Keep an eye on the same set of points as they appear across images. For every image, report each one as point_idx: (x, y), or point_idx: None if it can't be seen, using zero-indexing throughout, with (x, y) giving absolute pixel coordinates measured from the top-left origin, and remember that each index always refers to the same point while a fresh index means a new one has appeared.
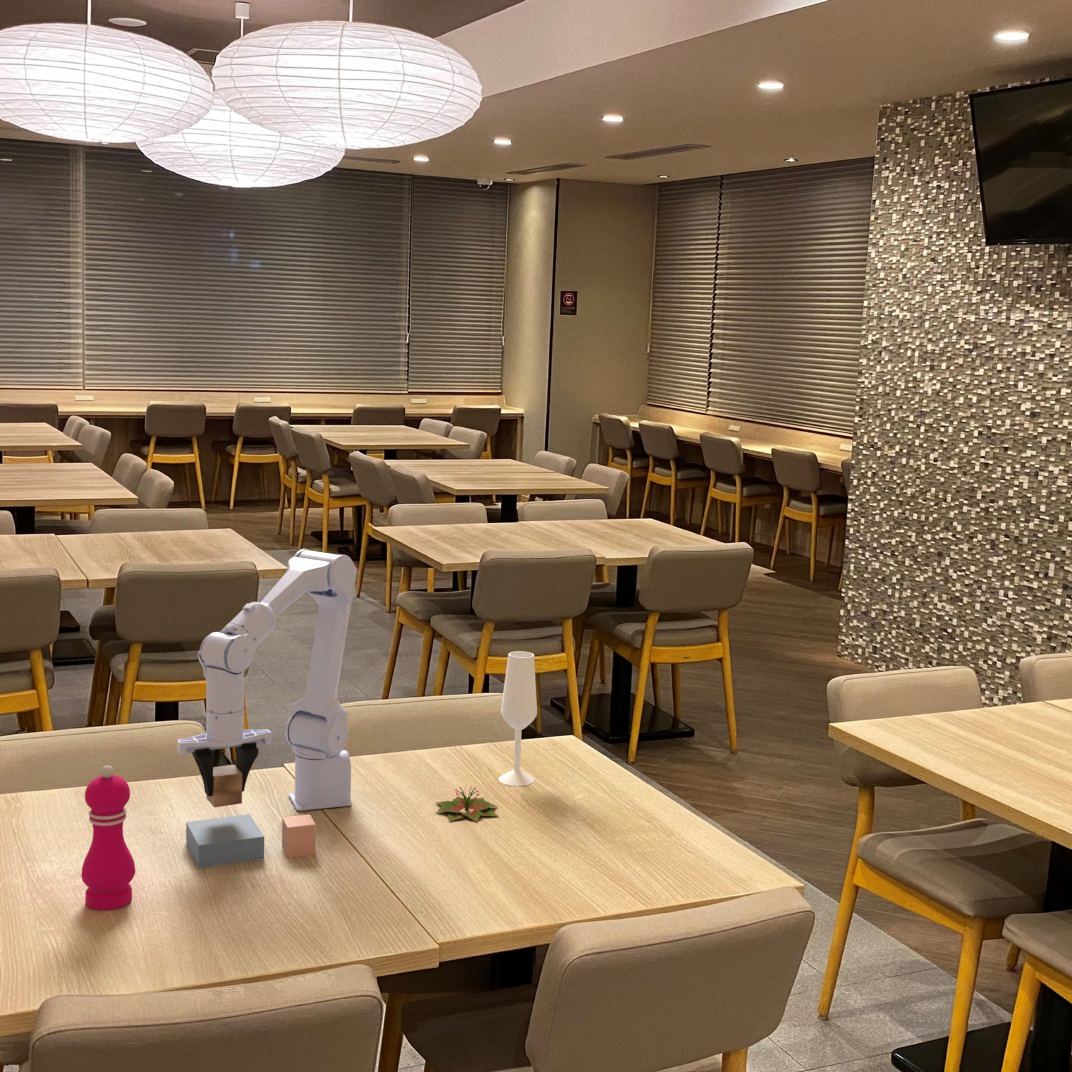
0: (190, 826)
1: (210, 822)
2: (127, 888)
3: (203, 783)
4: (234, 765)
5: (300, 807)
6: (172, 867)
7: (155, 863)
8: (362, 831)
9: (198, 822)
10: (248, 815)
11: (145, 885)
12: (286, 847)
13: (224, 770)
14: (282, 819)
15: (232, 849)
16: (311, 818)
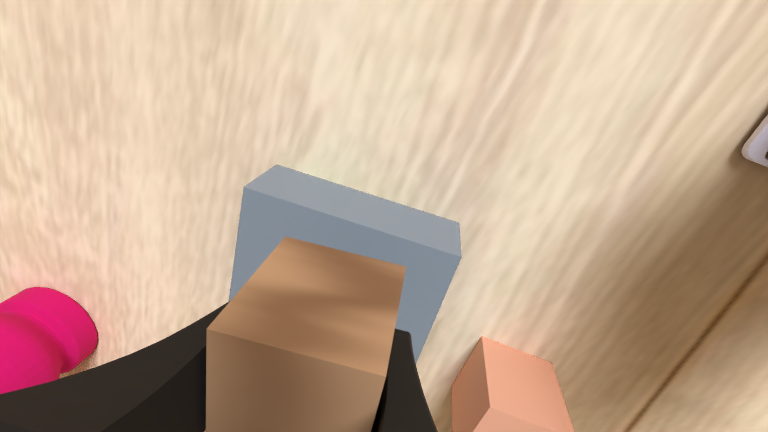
0: (243, 230)
1: (312, 239)
2: (66, 364)
3: (218, 309)
4: (379, 392)
5: (764, 151)
6: (201, 270)
7: (171, 227)
8: (731, 391)
9: (278, 215)
10: (450, 265)
11: (130, 309)
12: (457, 395)
13: (287, 416)
14: (487, 405)
15: None
16: None
